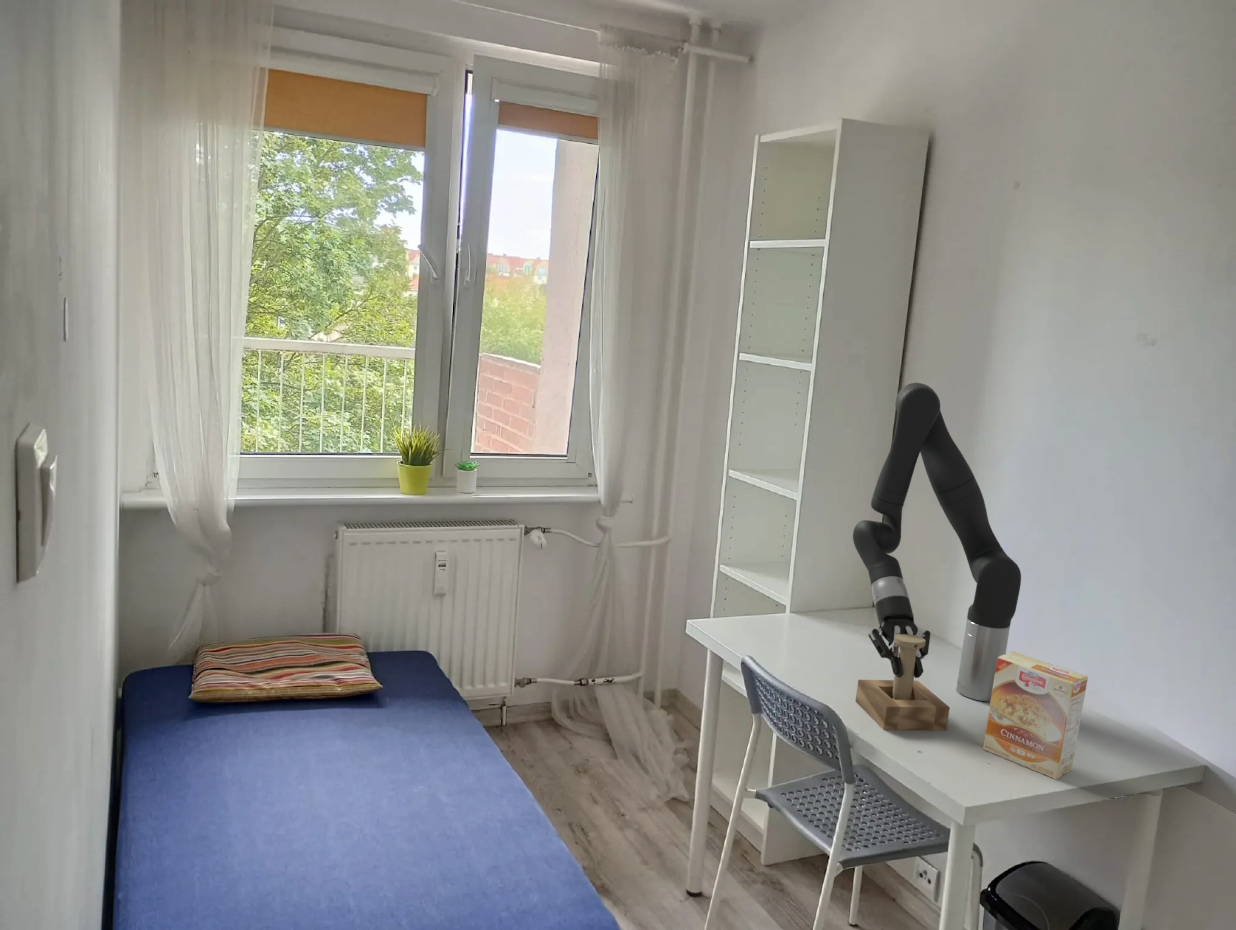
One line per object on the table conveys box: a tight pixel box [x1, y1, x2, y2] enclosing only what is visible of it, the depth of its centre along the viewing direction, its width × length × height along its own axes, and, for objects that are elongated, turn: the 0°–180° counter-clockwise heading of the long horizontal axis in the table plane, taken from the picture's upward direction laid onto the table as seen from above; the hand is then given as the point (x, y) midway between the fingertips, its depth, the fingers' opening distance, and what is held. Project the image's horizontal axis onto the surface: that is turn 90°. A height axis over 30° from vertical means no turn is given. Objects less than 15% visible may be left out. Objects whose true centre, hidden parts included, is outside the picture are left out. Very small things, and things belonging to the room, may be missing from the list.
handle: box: [892, 634, 926, 700], centre depth 203 cm, size 5×6×15 cm
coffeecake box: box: [982, 651, 1089, 780], centre depth 187 cm, size 15×7×20 cm, turn 42°
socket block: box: [855, 679, 951, 731], centre depth 205 cm, size 14×14×5 cm
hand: (909, 675), depth 202 cm, fingers closed on handle, 3 cm apart
